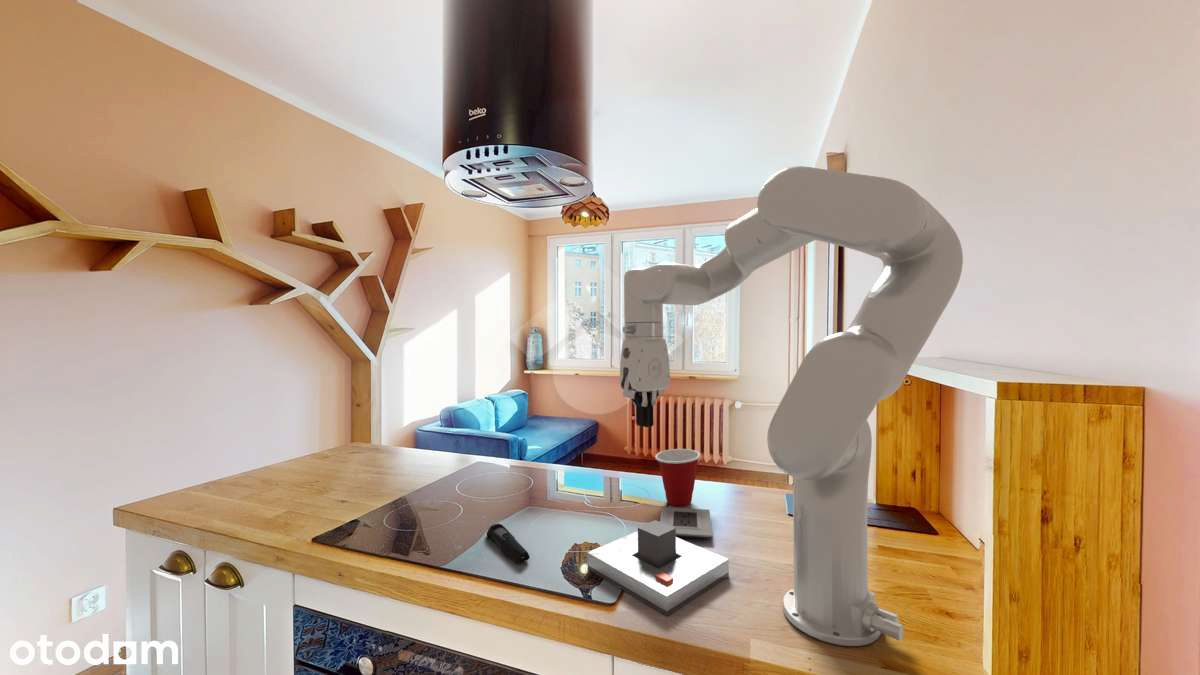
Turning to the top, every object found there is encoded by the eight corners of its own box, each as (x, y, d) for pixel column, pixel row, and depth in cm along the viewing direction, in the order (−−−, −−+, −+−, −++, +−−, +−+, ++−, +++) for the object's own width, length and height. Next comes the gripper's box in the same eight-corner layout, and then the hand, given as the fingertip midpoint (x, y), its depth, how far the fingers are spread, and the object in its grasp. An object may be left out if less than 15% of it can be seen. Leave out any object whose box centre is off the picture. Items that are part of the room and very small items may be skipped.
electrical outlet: (712, 546, 89) (712, 534, 89) (658, 542, 91) (658, 530, 91) (709, 519, 102) (709, 508, 102) (661, 516, 104) (661, 505, 104)
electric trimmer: (514, 572, 80) (514, 554, 80) (484, 538, 93) (484, 522, 93) (534, 566, 82) (534, 548, 82) (502, 533, 95) (502, 518, 95)
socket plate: (728, 576, 77) (728, 555, 77) (666, 616, 66) (666, 592, 66) (649, 540, 90) (649, 522, 90) (587, 569, 80) (587, 548, 80)
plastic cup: (651, 495, 115) (650, 448, 115) (692, 493, 116) (692, 446, 116) (661, 512, 104) (660, 460, 104) (707, 510, 106) (706, 458, 106)
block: (676, 568, 78) (675, 528, 78) (658, 578, 75) (658, 536, 75) (655, 558, 82) (655, 520, 82) (638, 568, 79) (637, 527, 78)
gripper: (630, 332, 82) (631, 434, 82) (683, 331, 91) (683, 423, 92) (602, 332, 87) (603, 428, 87) (654, 332, 97) (655, 418, 97)
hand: (644, 425), depth 90 cm, fingers closed
